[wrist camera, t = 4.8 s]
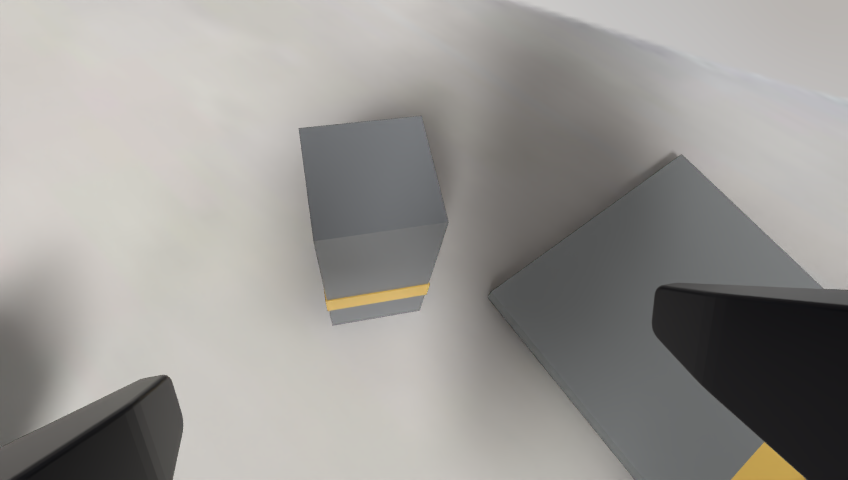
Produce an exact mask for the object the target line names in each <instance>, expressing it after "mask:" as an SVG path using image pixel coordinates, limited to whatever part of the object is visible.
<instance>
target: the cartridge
mask: <svg viewBox="0 0 848 480" xmlns="http://www.w3.org/2000/svg"><path fill="white" fill-rule="evenodd" d="M299 134H300V142H301V149H302V157H303V165H304V172H305V180H306V187H307V195H308V203H309V210H310V218H311V226H312V233H313V241H314V245H315V250H316V254H317V259H318V263H319V268H320V272H321V277H322V281H323V286H324V293H325V301H326V305H327V310H328V311H329V312H330V317H331V321H332V326H333V325H338V324H344V323H350V322H356V321H361V320H367V319H373V318H379V317H385V316H390V315H396V314H402V313H408V312H414V311H419V310H420V308H421V305H422V301H423V298H424V295H426V294H427V292H428V289H429V286H430V283H429V280H430V277H431V274H432V271H433V268H434V265H435V262H436V259H437V256H438V253H439V250H440V247H441V244H442V241H443V237H444V234H445V231H446V228H447V225H448V218H447V214H446V210H445V206H444V202H443V198H442V194H441V190H440V187H439V183H438V179H437V175H436V171H435V167H434V163H433V159H432V155H431V151H430V147H429V143H428V139H427V135H426V132H425V128H424V124H423V120H422V116H415V117H405V118H395V119H385V120H375V121H365V122H355V123H346V124H336V125H326V126H316V127H306V128H299Z"/></svg>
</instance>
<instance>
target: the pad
mask: <svg viewBox="0 0 848 480" xmlns="http://www.w3.org/2000/svg"><path fill="white" fill-rule="evenodd" d="M671 283H699V284H722V285H745V286H768V287H791V288H814V289H823V288H822V287H821V286H820V285H819V284H818V283H817V282H816V281H815V280H814V279H813V278H812V277H811V276H810V275H809V274H808V273H807V272H806V271H804V270H803V269H802V268H801V267H800V266H799V265H798V264H797V263H796V262H795V261H794V260H793V259H792V258H791V257H790V256H789V255H788V254H787V253H785V252H784V251H783V250H782V249H781V248H780V247H779V246H778V245H777V244H776V243H775V242H774V241H773V240H772V239H771V238H770V237H769V236H768V235H766V234H765V233H764V232H763V231H762V230H761V229H760V228H759V227H758V226H757V225H756V224H755V223H754V222H753V221H752V220H751V219H750V218H749V217H747V216H746V215H745V214H744V213H743V212H742V211H741V210H740V209H739V208H738V207H737V206H736V205H735V204H734V203H733V202H732V201H731V200H730V199H728V198H727V197H726V196H725V195H724V194H723V193H722V192H721V191H720V190H719V189H718V188H717V187H716V186H715V185H714V184H713V183H712V182H711V181H709V180H708V179H707V178H706V177H705V176H704V175H703V174H702V173H701V172H700V171H699V170H698V169H697V168H696V167H695V166H694V165H693V164H691V163H690V162H689V161H688V160H687V159H686V158H685V157H684V156H683V155H682V154H681V155H680V156H679V157H677V158H676V159H674V160H673V161H672V162H670V163H669V164H667V165H666V166H665V167H663V168H662V169H661V170H659V171H658V172H656V173H655V174H654V175H652V176H651V177H649V178H648V179H647V180H645V181H644V182H643V183H641V184H640V185H638V186H637V187H636V188H634V189H633V190H631V191H630V192H629V193H627V194H626V195H625V196H623V197H622V198H620V199H619V200H618V201H616V202H615V203H613V204H612V205H611V206H609V207H608V208H607V209H605V210H604V211H602V212H601V213H600V214H598V215H597V216H595V217H594V218H593V219H591V220H590V221H588V222H587V223H586V224H584V225H583V226H582V227H580V228H579V229H577V230H576V231H575V232H573V233H572V234H570V235H569V236H568V237H566V238H565V239H564V240H562V241H561V242H559V243H558V244H557V245H555V246H554V247H552V248H551V249H550V250H548V251H547V252H546V253H544V254H543V255H541V256H540V257H539V258H537V259H536V260H534V261H533V262H532V263H530V264H529V265H528V266H526V267H525V268H523V269H522V270H521V271H519V272H518V273H516V274H515V275H514V276H512V277H511V278H510V279H508V280H507V281H505V282H504V283H503V284H501V285H500V286H498V287H497V288H496V289H494V290H493V291H492V292H491V293H490V294H489V296H488V298H489V300H490V301H491V302H492V303H493V305H494V306H495V307H496V308H497V309H498V311H499V312H500V313H501V314H502V316H503V317H504V318H505V319H506V321H507V322H508V323H509V324H510V326H511V327H512V328H513V329H514V331H515V332H516V333H517V334H518V335H519V337H520V338H521V339H522V340H523V342H524V343H525V344H526V345H527V347H528V348H529V349H530V350H531V352H532V353H533V354H534V355H535V357H536V358H537V359H538V360H539V361H540V363H541V364H542V365H543V366H544V368H545V369H546V370H547V371H548V373H549V374H550V375H551V376H552V378H553V379H554V380H555V381H556V383H557V384H558V385H559V386H560V387H561V389H562V390H563V391H564V392H565V394H566V395H567V396H568V397H569V399H570V400H571V401H572V402H573V404H574V405H575V406H576V407H577V409H578V410H579V411H580V412H581V413H582V415H583V416H584V417H585V418H586V420H587V421H588V422H589V423H590V425H591V426H592V427H593V428H594V430H595V431H596V432H597V433H598V435H599V436H600V437H601V438H602V439H603V441H604V442H605V443H606V444H607V446H608V447H609V448H610V449H611V451H612V452H613V453H614V454H615V456H616V457H617V458H618V459H619V461H620V462H621V463H622V464H623V465H624V467H625V468H626V469H627V470H628V472H629V473H630V474H631V475H632V477H633V478H634V479H635V480H806V479H805V478H804V477H803V476H802V475H801V474H800V473H799V472H798V471H796V470H795V469H794V468H793V467H792V466H791V465H790V464H789V463H787V462H786V461H785V460H784V459H783V458H782V457H781V456H780V455H778V454H777V453H776V452H775V451H774V450H773V449H772V448H771V447H769V446H768V445H767V444H766V443H765V442H764V441H763V440H762V439H760V438H759V437H758V436H757V435H756V434H755V433H754V432H753V431H751V430H750V429H749V428H748V427H747V426H746V425H745V424H744V423H742V422H741V421H740V420H739V419H738V418H737V417H736V416H735V415H733V414H732V413H731V412H730V411H729V410H728V409H727V408H726V407H724V406H723V405H722V404H721V403H720V402H719V401H718V400H717V399H715V398H714V397H713V396H712V395H711V394H710V393H709V392H708V391H707V390H706V389H705V388H703V387H702V386H701V385H700V384H699V383H698V382H697V380H696V379H695V378H694V377H693V376H692V375H691V374H690V373H689V372H688V371H687V370H686V369H685V368H684V367H683V366H682V364H681V363H680V362H679V361H678V360H677V359H676V358H675V357H674V356H673V355H672V354H671V353H670V351H669V350H668V349H667V348H666V347H665V346H664V345H663V344H662V343H661V342H660V341H659V340H658V339H657V337H656V336H655V334H654V332H653V329H652V313H653V304H654V295H655V291H656V289H657V288H658V287H659V286H661V285H666V284H671Z"/></svg>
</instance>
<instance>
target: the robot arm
mask: <svg viewBox="0 0 848 480" xmlns="http://www.w3.org/2000/svg"><path fill="white" fill-rule="evenodd" d="M652 329H653V332H654V334H655V336H656V337H657V339H658V340H659V341H660V342H661V343H662V344H663V345H664V346H665V347H666V348H667V349H668V350H669V351H670V353H671V354H672V355H673V356H674V357H675V358H676V359H677V360H678V361H679V362H680V363H681V364H682V366H683V367H684V368H685V369H686V370H687V371H688V372H689V373H690V374H691V375H692V376H693V377H694V378H695V379H696V380H697V382H698V383H699V384H700V385H701V386H702V387H703V388H705V389H706V390H707V391H708V392H709V393H710V394H711V395H712V396H713V397H714V398H715V399H717V400H718V401H719V402H720V403H721V404H722V405H723V406H724V407H726V408H727V409H728V410H729V411H730V412H731V413H732V414H733V415H735V416H736V417H737V418H738V419H739V420H740V421H741V422H742V423H744V424H745V425H746V426H747V427H748V428H749V429H750V430H751V431H753V432H754V433H755V434H756V435H757V436H758V437H759V438H760V439H762V440H763V441H764V442H765V443H766V444H767V445H768V446H769V447H771V448H772V449H773V450H774V451H775V452H776V453H777V454H778V455H780V456H781V457H782V458H783V459H784V460H785V461H786V462H787V463H789V464H790V465H791V466H792V467H793V468H794V469H795V470H796V471H798V472H799V473H800V474H801V475H802V476H803V477H804V478H805V479H807V480H848V290H837V289H814V288H791V287H768V286H745V285H722V284H699V283H671V284H666V285H661V286H659V287H658V288H657V289H656V291H655V295H654V304H653V313H652ZM182 433H183V417H182V413H181V409H180V406H179V403H178V399H177V396H176V393H175V390H174V386H173V383H172V381H171V379H170V377H168V376H167V375H159V376H154V377H148V378H144V379H140V380H138V381H136V382H134V383H132V384H130V385H128V386H126V387H124V388H122V389H120V390H118V391H115V392H113V393H111V394H109V395H107V396H105V397H103V398H101V399H99V400H97V401H95V402H93V403H91V404H89V405H87V406H85V407H83V408H81V409H79V410H76V411H74V412H72V413H70V414H68V415H66V416H64V417H62V418H60V419H58V420H56V421H54V422H52V423H50V424H48V425H46V426H44V427H42V428H40V429H37V430H35V431H33V432H31V433H29V434H27V435H25V436H23V437H21V438H19V439H17V440H15V441H13V442H11V443H9V444H7V445H5V446H3V447H0V480H173V475H174V471H175V466H176V461H177V457H178V452H179V447H180V442H181V438H182Z"/></svg>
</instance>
